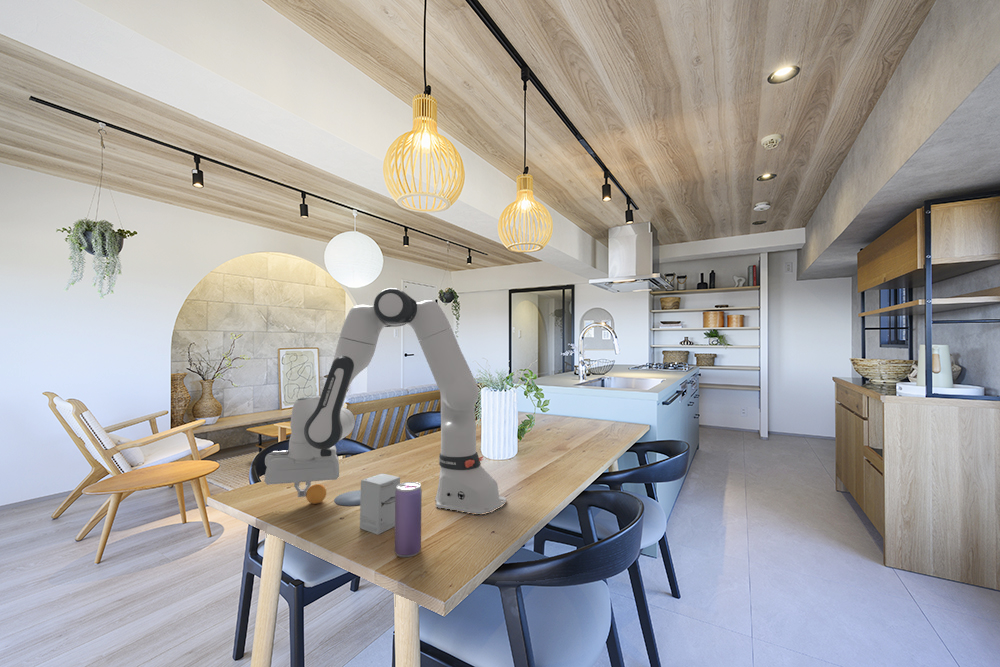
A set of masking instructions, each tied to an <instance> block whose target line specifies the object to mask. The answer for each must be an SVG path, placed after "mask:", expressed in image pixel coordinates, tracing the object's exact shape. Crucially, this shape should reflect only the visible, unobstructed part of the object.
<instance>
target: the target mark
mask: <svg viewBox="0 0 1000 667" xmlns="http://www.w3.org/2000/svg"><path fill="white" fill-rule="evenodd" d="M333 499H334V500H333V501H334V503H335V504H336V505H338V506H343V507H355V506H356V505H357V506H360V499H361V489H360V490H352V491H351V490H350V491H347V492H343V493H341V494H339V495H337V496H335V498H333ZM357 506H356V507H357Z"/></svg>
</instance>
